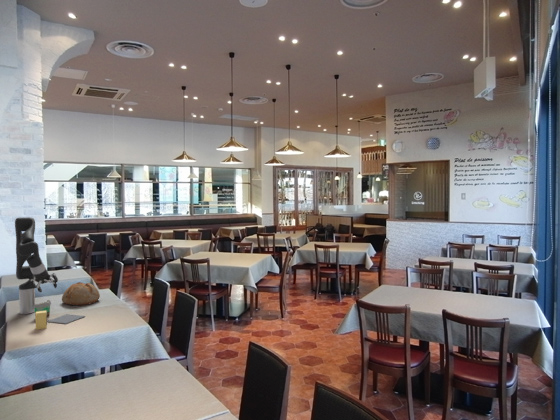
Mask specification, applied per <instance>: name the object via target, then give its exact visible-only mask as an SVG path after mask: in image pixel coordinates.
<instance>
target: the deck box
mask: <svg viewBox="0 0 560 420" xmlns="http://www.w3.org/2000/svg"><path fill="white" fill-rule="evenodd" d="M34 315H35V319H34V320H35V330H43V329H44V330H45V329H47V327H48V322H47V321H48V317H47V310H46V311H38V312H36V313H35V312H34Z"/></svg>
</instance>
